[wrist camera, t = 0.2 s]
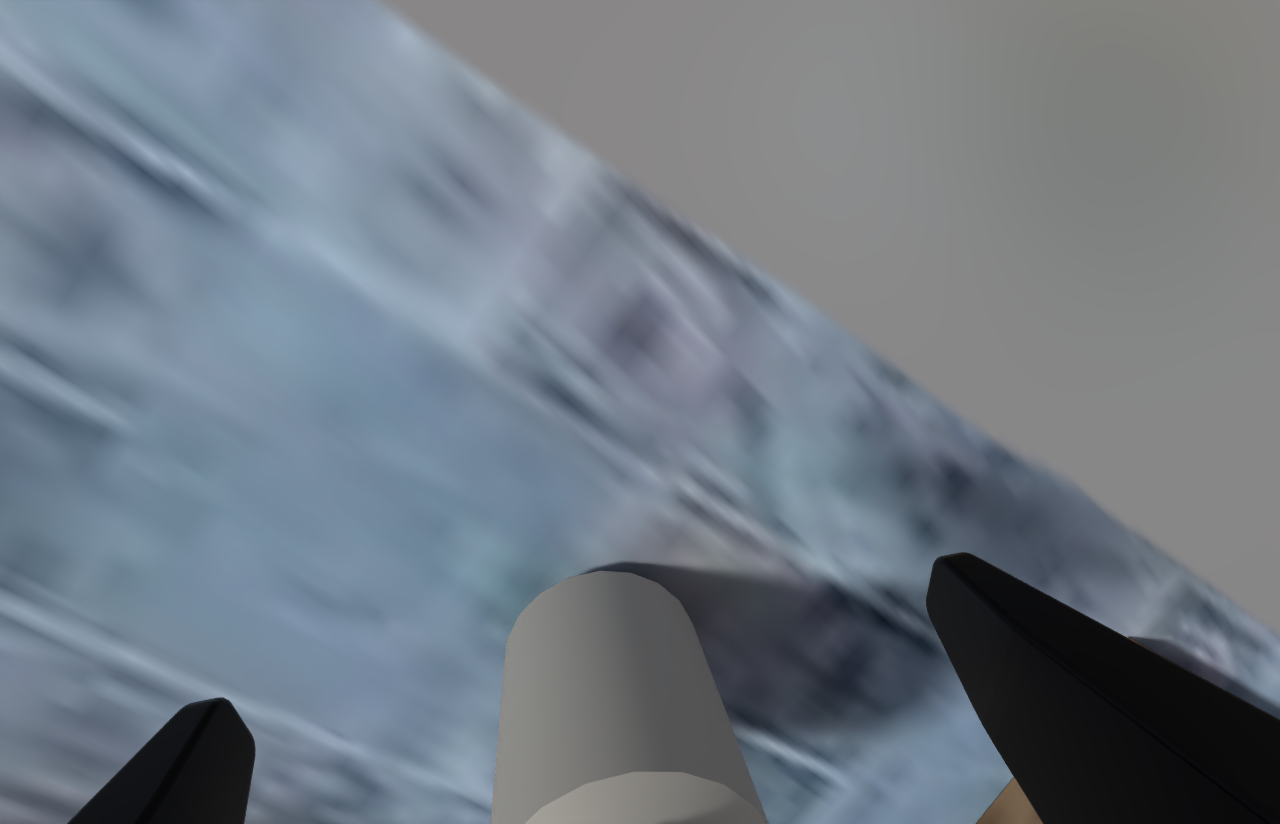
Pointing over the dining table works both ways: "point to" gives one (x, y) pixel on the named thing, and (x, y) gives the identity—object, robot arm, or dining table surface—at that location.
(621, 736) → the can
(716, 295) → the dining table surface
